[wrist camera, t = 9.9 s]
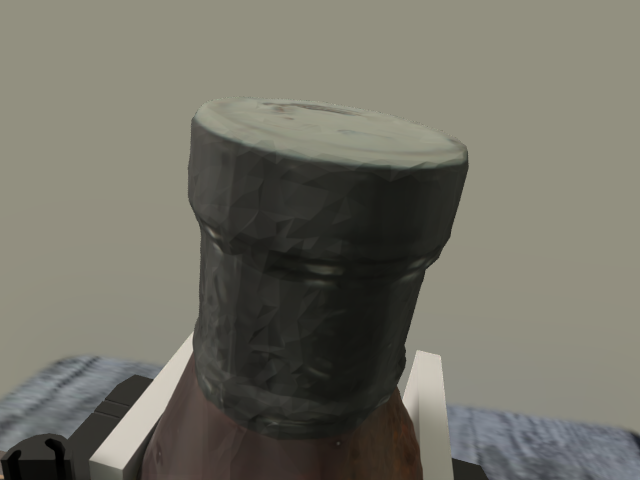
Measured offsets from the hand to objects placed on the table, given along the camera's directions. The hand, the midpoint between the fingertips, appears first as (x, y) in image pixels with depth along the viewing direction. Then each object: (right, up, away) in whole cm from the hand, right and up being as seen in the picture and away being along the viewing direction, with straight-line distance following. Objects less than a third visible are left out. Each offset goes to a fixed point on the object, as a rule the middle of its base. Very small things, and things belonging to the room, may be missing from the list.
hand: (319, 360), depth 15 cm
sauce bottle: (-3, -12, 0) cm, 12 cm away
